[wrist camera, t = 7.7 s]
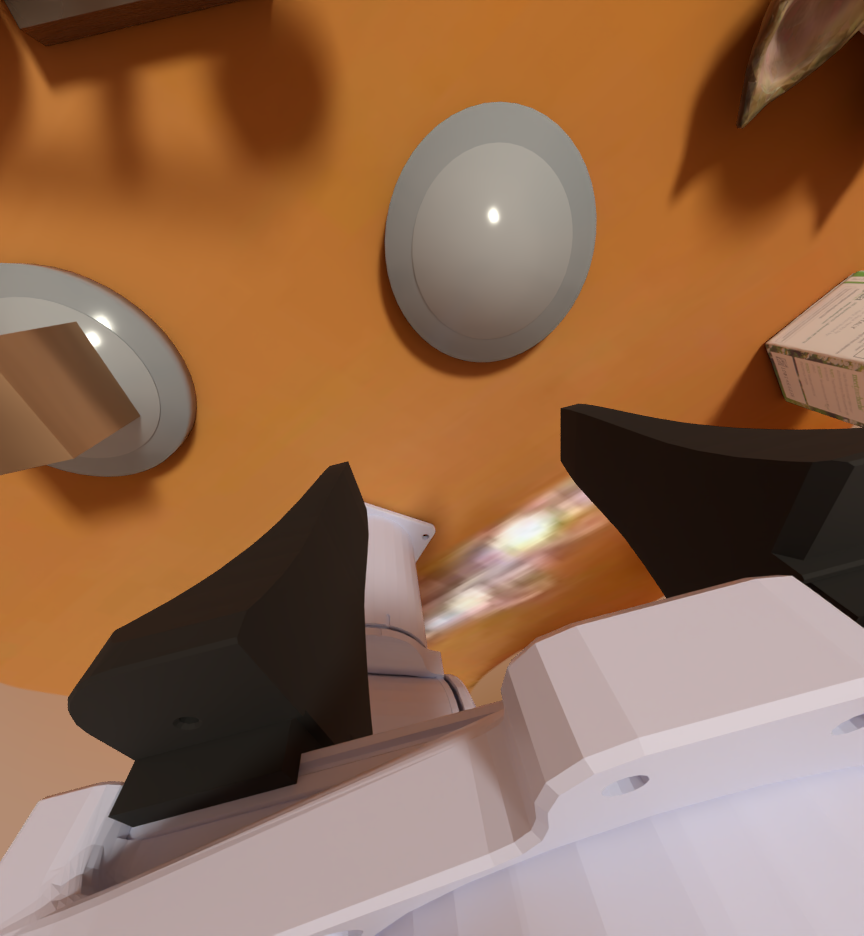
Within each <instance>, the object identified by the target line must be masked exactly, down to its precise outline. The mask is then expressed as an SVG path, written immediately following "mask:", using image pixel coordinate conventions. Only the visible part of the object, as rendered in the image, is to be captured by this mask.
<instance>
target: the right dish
mask: <svg viewBox="0 0 864 936" xmlns="http://www.w3.org/2000/svg"><path fill="white" fill-rule="evenodd" d="M595 237H596V206H595V197H594V192H593V187H592V183H591V179H590V176H589V173H588V170H587V167H586V165H585V163H584V161H583V159H582V157H581V155H580V153H579V151H578V149H577V148H576V146H575V145H574V143H573V142H572V140H571V139H570V137H569V136H568V135H567V134H566V133H565V132H564V131H563V130H562V129H561V128H560V127H559V125H557V124H556V123H555V122H553V121H552V120H551V119H550V118H548V117H547V116H546V115H544V114H542V113H540V112H538V111H536V110H534V109H532V108H530V107H526V106H523V105H520V104H516V103H507V102H493V103H483V104H480V105H476V106H472V107H469V108H466V109H464V110H462V111H460V112H458V113H456V114H454V115H452V116H450V117H449V118H448V119H446V120H445V121H443V122H442V123H440V124H439V125H438V126H436V127H435V128H434V129H433V130H432V131H431V132H430V133H429V134H428V135H427V136H426V137H425V138H424V139H423V140H422V142H421V143H420V144H419V145H418V147H417V148H416V149H415V150H414V152H413V153H412V155H411V156H410V158H409V160H408V161H407V163H406V165H405V166H404V168H403V170H402V172H401V175H400V177H399V179H398V181H397V183H396V186H395V189H394V192H393V195H392V199H391V202H390V205H389V210H388V215H387V221H386V228H385V260H386V267H387V274H388V278H389V281H390V285H391V289H392V291H393V294H394V296H395V299H396V301H397V303H398V305H399V307H400V309H401V311H402V313H403V314H404V316H405V317H406V319H407V320H408V322H409V323H410V325H411V326H412V327H413V329H414V330H415V331H416V332H417V333H418V334H419V335H420V336H421V337H422V338H423V339H424V340H425V341H426V342H428V343H429V344H430V345H431V346H433V347H434V348H436V349H438V350H439V351H441V352H442V353H445V354H447V355H449V356H451V357H454V358H457V359H461V360H465V361H472V362H492V361H499V360H503V359H507V358H510V357H513V356H515V355H518V354H520V353H523V352H524V351H526V350H528V349H530V348H531V347H533V346H535V345H536V344H537V343H539V342H540V341H541V340H543V339H544V338H545V337H546V336H547V335H548V334H550V333H551V332H552V331H553V330H554V329H555V328H556V327H557V325H558V324H559V323H560V322H561V321H562V320H563V319H564V317H565V316H566V314H567V313H568V312H569V310H570V309H571V307H572V306H573V304H574V302H575V300H576V299H577V297H578V295H579V293H580V291H581V289H582V286H583V284H584V282H585V280H586V277H587V274H588V271H589V268H590V264H591V260H592V256H593V251H594V245H595Z"/></svg>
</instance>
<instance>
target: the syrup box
mask: <svg viewBox="0 0 864 936" xmlns="http://www.w3.org/2000/svg"><path fill="white" fill-rule="evenodd" d="M765 346H766V349H767V352H768V355H769V357H770V360H771V363H772V365H773V368H774V371H775V374H776V377H777V379H778V382H779V385H780V388H781V390H782V394H783V396H784V398H785V400H786V401H787V402H790V403H792V404H795V405H798V406H801V407H804V408H807V409H810V410H813V411H816V412H819V413H821V414H824V415H827V416H830V417H833V418H836V419H839V420H842V421H845V422H848V423H851V424H854V425H857V426H860V427H863V428H864V271H858V272H856V273H854V274H852V275H850V276H849V277H848V278H847V279H845V280H844V281H843V282H842V283H840V284H839V285H838V286H836V287H835V288H834V289H833V290H831V291H830V292H829V293H828V294H826V295H825V296H824V297H822V298H821V299H820V300H819V301H817V302H816V303H815V304H814V305H812V306H811V307H810V308H809V309H807V310H806V311H805V312H804V313H802V314H801V315H800V316H798V317H797V318H796V319H795V320H794V321H792V322H791V323H790V324H789V325H787V326H786V327H785V328H784V329H783V330H781V331H780V332H779V333H778V334H776V335H775V336H774V337H773V338H771V339H770V340H769V341H768V342H766V344H765Z"/></svg>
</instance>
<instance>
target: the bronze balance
mask: <svg viewBox="0 0 864 936" xmlns="http://www.w3.org/2000/svg"><path fill="white" fill-rule="evenodd" d="M4 1H5V3H6V5H7V7H8V8H9V10H10V12H11V14H12V16H13V17H14V19H15V21H16V23H17V24H18V26H19V28H20V29H21V30H22V31H24V32H25V33H27V34H28V35H30V36H31V37H33V38H34V39H36V40H37V41H39V42H40V43H42V44H43V45H45V46H49V45H53V44H57V43H62V42H66V41H70V40H74V39H78V38H83V37H87V36H91V35H95V34H100V33H104V32H108V31H112V30H117V29H121V28H125V27H129V26H133V25H138V24H142V23H146V22H150V21H155V20H159V19H163V18H167V17H171V16H176V15H180V14H184V13H188V12H193V11H197V10H201V9H205V8H210V7H214V6H218V5H222V4H226V3H231V2H235V1H239V0H4Z"/></svg>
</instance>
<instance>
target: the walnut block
mask: <svg viewBox="0 0 864 936" xmlns="http://www.w3.org/2000/svg"><path fill="white" fill-rule="evenodd" d="M139 417H140V414H139V413H138V411H137V410H136V408H135V407H134V405H133V404H132V403H131V401H130V400H129V398H128V397H127V395H126V394H125V392H124V391H123V389H122V388H121V386H120V385H119V383H118V382H117V380H116V379H115V378H114V376H113V375H112V373H111V372H110V370H109V369H108V367H107V366H106V364H105V363H104V361H103V360H102V358H101V357H100V355H99V354H98V353H97V351H96V350H95V348H94V347H93V345H92V344H91V342H90V341H89V339H88V338H87V336H86V335H85V333H84V332H83V330H82V329H81V328H80V326H79V325H78V323H77V322H70V323H65V324H59V325H53V326H48V327H42V328H37V329H31V330H26V331H20V332H14V333H9V334H3V335H0V475H3V474H7V473H12V472H16V471H21V470H25V469H30V468H34V467H39V466H43V465H48V464H52V463H57V462H61V461H66V460H70V459H74V458H75V457H77V456H79V455H80V454H82V453H83V452H85V451H87V450H88V449H90V448H91V447H93V446H94V445H96V444H98V443H99V442H101V441H102V440H104V439H105V438H107V437H109V436H110V435H112V434H113V433H115V432H116V431H118V430H120V429H121V428H123V427H124V426H126V425H127V424H129V423H131V422H132V421H134V420H135V419H137V418H139Z"/></svg>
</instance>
